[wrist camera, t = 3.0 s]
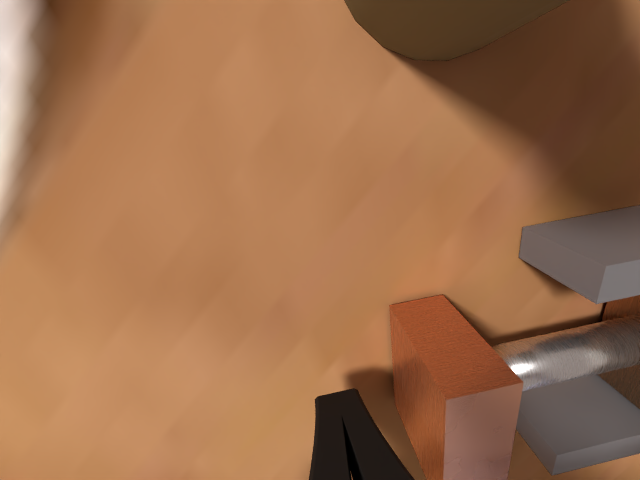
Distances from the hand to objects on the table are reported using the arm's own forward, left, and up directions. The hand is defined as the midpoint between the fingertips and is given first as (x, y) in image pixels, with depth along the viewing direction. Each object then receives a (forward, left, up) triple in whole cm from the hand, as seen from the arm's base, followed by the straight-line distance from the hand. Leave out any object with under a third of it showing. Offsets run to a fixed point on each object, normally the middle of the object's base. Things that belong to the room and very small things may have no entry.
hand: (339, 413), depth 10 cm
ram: (0, -8, -2) cm, 8 cm away
